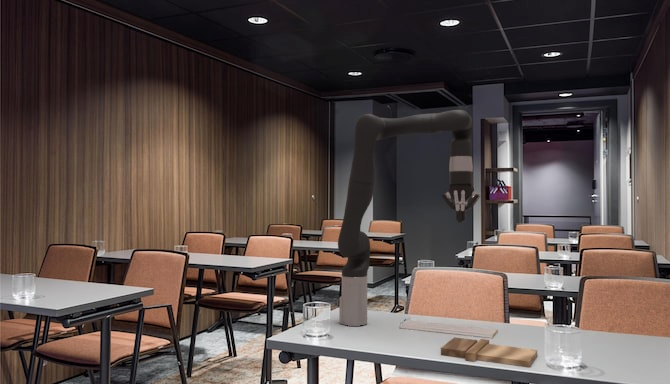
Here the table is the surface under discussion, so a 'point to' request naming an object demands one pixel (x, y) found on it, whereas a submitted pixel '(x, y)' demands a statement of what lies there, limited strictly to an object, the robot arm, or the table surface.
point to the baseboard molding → (450, 329)
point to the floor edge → (500, 354)
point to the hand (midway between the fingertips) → (461, 222)
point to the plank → (457, 347)
